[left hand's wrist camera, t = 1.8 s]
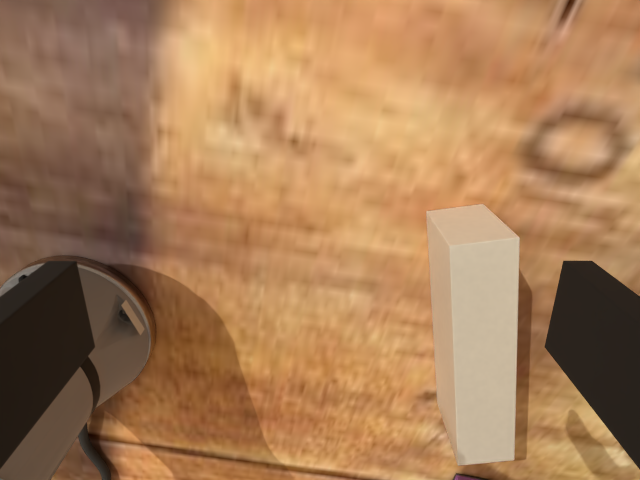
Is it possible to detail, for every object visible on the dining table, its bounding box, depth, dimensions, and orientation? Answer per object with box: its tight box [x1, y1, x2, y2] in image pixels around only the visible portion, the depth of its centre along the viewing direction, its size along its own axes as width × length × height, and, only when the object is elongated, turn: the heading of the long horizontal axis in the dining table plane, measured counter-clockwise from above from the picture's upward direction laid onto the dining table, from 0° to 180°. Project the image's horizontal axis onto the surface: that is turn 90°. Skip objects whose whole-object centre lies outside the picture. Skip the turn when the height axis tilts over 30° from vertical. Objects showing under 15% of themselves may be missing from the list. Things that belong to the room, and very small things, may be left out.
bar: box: [426, 204, 520, 466], centre depth 42 cm, size 22×5×8 cm, turn 8°
